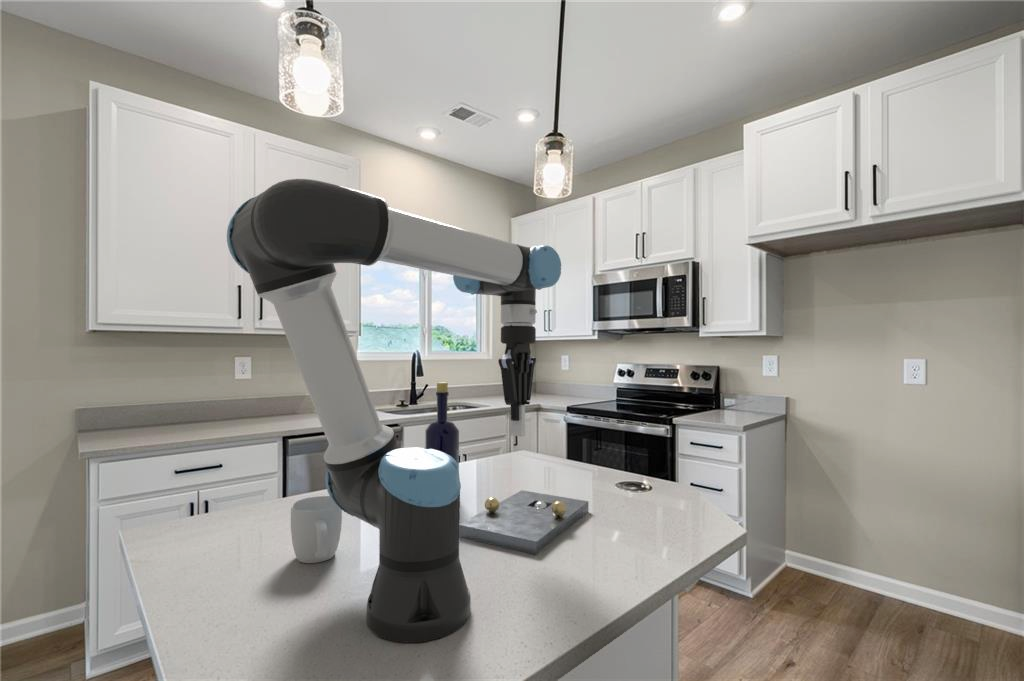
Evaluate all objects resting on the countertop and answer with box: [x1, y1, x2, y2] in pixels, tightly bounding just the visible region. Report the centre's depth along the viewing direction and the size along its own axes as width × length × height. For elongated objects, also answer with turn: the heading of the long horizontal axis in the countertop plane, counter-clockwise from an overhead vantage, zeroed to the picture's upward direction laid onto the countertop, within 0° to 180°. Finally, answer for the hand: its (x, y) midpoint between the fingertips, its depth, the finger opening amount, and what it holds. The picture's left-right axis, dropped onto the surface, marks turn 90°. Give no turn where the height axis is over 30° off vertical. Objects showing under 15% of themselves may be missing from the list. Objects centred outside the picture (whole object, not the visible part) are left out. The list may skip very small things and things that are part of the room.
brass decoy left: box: [484, 497, 500, 512], centre depth 111 cm, size 3×3×3 cm
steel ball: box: [534, 501, 547, 509], centre depth 116 cm, size 3×3×3 cm
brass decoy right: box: [551, 501, 566, 517], centre depth 109 cm, size 3×3×3 cm
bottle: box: [424, 381, 460, 469], centre depth 128 cm, size 9×9×30 cm
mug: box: [290, 495, 343, 564], centre depth 92 cm, size 13×9×10 cm
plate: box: [459, 490, 589, 556], centre depth 111 cm, size 28×18×2 cm, turn 151°
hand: (517, 435), depth 107 cm, fingers closed
